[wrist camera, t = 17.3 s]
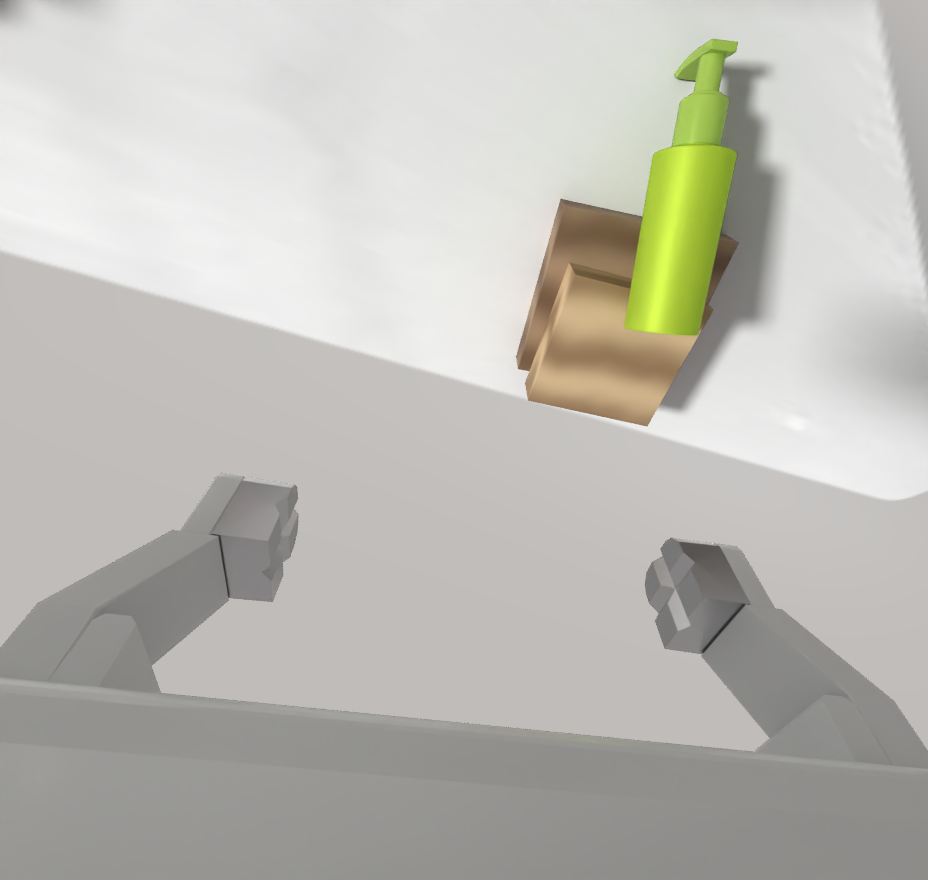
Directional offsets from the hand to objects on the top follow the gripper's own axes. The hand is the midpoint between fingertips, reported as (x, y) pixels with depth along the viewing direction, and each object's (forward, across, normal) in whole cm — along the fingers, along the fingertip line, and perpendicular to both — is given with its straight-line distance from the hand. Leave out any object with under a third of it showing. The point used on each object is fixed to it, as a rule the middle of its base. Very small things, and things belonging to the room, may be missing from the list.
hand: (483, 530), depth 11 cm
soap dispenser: (+32, -17, +6) cm, 37 cm away
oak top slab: (+38, -16, +11) cm, 43 cm away
